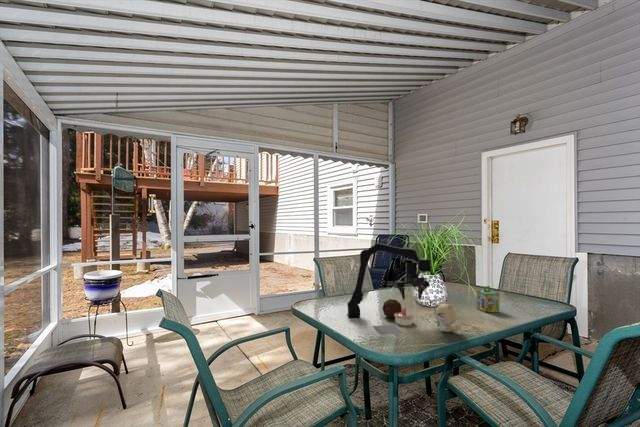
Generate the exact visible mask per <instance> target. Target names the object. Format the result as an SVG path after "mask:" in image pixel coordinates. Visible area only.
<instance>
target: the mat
mask: <svg viewBox="0 0 640 427" xmlns="http://www.w3.org/2000/svg"><path fill="white" fill-rule="evenodd" d="M372 328H373V329H374V330H375V332H377V333H378V334H379V335H391V334H392V335H394V334H404V333H403V331H401V329H399V328H398V327H397V326H396V325H395V324H386V325H382V324H381V325H372Z"/></svg>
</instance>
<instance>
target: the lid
mask: <svg viewBox="0 0 640 427" xmlns="http://www.w3.org/2000/svg"><path fill="white" fill-rule="evenodd" d="M401 307H402V308H401V312H396V313H394V316H395V317H397V318H400V319H412V318H413V319H414V317H415V314H413V312H412V313H411V312H407V307H406V306H405V307H404V306H401Z"/></svg>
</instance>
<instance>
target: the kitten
mask: <svg viewBox="0 0 640 427" xmlns="http://www.w3.org/2000/svg"><path fill="white" fill-rule="evenodd" d="M434 316H435V319H436V320H437V321H436V323H437V328H438V331H439V332H440V333H443V332H444V333H451V332H458V331H460V330H461V329H462V325H460V324H457V326H456V327H455V328H454V327H453V326H452V324H455V323H456V320H457V312H456V310H455V308H454V304H453V303H449V304H448V303H447V302H446V301H445V299H444V298H443V299H441V304H439V305H438V306H437V307H436V309H434Z"/></svg>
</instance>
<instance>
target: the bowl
mask: <svg viewBox="0 0 640 427" xmlns="http://www.w3.org/2000/svg"><path fill="white" fill-rule="evenodd" d="M413 319H414V318H412V319H400V318H397V317H395V318H394V323H395V324H396V325H400V326H411V325H413V322H414V321H413Z"/></svg>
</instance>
